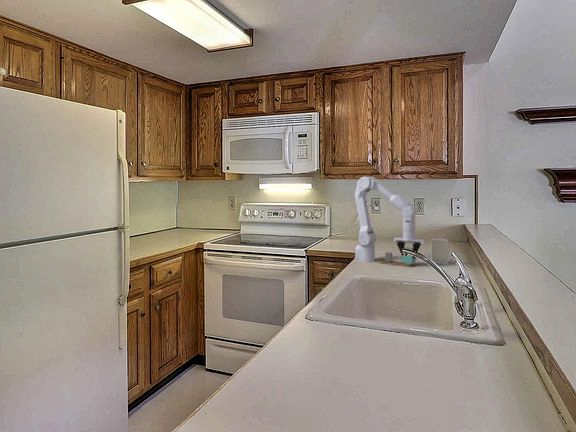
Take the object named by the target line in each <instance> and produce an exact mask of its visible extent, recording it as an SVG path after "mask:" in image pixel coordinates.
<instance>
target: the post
mask: <svg viewBox="0 0 576 432" xmlns="http://www.w3.org/2000/svg"><path fill="white" fill-rule="evenodd" d="M384 255H385V258H384V260H385V263H392V261H393V252H391V251H390V252H389V251H387V252H385V254H384Z"/></svg>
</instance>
